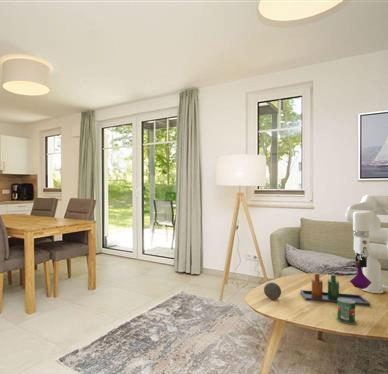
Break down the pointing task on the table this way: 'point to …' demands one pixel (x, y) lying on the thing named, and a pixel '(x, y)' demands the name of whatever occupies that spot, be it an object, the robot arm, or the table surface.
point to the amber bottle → (317, 287)
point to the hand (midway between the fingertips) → (360, 265)
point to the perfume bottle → (360, 277)
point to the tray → (357, 298)
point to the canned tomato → (346, 310)
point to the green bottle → (333, 288)
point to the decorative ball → (272, 290)
